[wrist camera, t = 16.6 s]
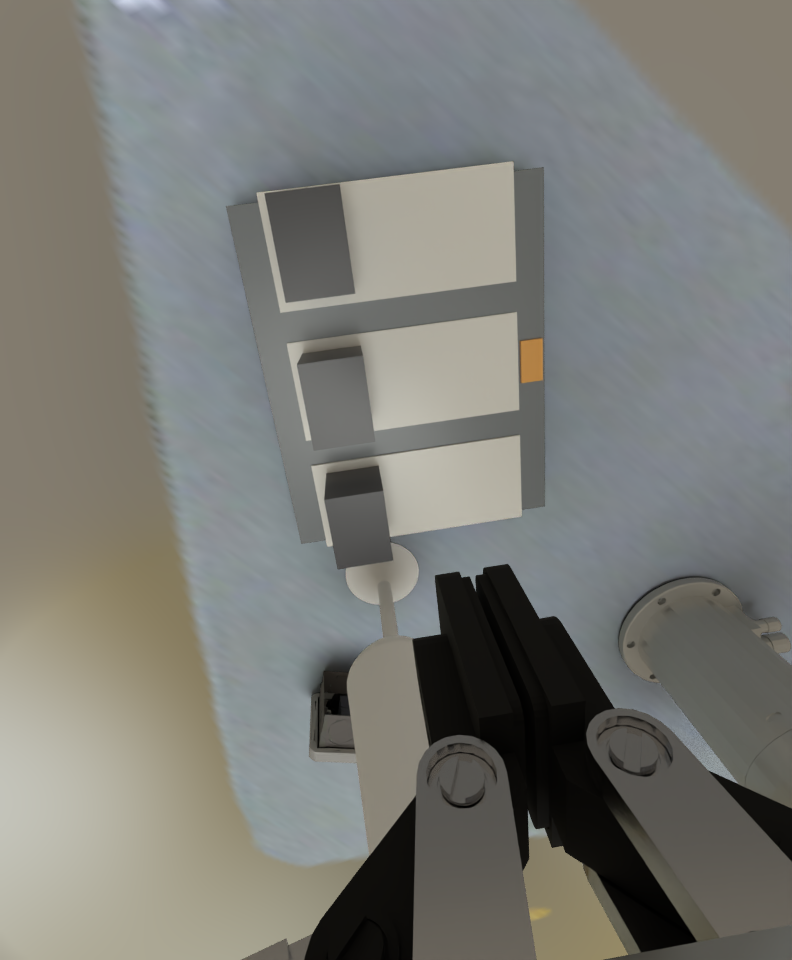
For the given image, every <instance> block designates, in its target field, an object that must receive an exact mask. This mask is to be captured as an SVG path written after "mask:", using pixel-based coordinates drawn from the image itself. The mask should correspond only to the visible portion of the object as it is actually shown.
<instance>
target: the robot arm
mask: <svg viewBox="0 0 792 960" xmlns="http://www.w3.org/2000/svg"><path fill="white" fill-rule="evenodd" d="M435 583H436V593H437V602H438V611H439V621H440V630H441V635H434V636H428V637H422V638H415V639H412V642H413V650H414V658H415V665H416V672H417V679H418V685H419V692H420V698H421V704H422V710H423V715H424V721H425V727H426V732H427V738H428V744H429V748H428V749H427V750H426V751H425V752H424V754H423V756H422V758H421V760H420V761H419V765H418V770H417V778H416V796H415V797H414V798H413V800H412V801H411V802H410V804H409V805H408V806H407V807H406V809H405V810H404V811H403V813H402V814H401V815H400V817H399V818H398V819H397V821H396V822H395V823H394V824H393V826H392V827H391V828H390V830H389V831H388V832H387V834H386V835H385V836H384V838H383V839H382V840H381V841H380V843H379V844H378V845H377V847H376V848H375V849H374V851H373V852H372V853H371V855H370V856H369V857H368V858H367V860H366V861H365V863H364V864H363V865H362V866H361V868H360V869H359V870H358V872H357V873H356V874H355V875H354V877H353V878H352V880H351V881H350V882H349V883H348V885H347V886H346V887H345V889H344V890H343V891H342V892H341V894H340V895H339V896H338V898H337V899H336V900H335V902H334V903H333V904H332V906H331V907H330V908H329V909H328V911H327V912H326V913H325V915H324V916H323V917H322V919H321V920H320V922H319V924H318V926H317V927H316V929H315V930H314V932H313V934H312V935H309V936H307V937H305V938H303V939H301V940H299V941H297V942H295V943H292V944H290V945H288V942H287V939H284V940H282V941H280V942H278V943H276V944H274V945H271V946H269V947H267V948H265V949H263V950H261V951H259V952H257V953H255V954H252V955H250V956H248V957H246V958H244V959H242V960H537V959H536V953H535V946H534V940H533V934H532V927H531V921H530V915H529V908H528V902H527V897H526V889H525V884H524V877H523V869H524V868H525V866H526V864H527V862H528V860H529V837H528V811H529V814H530V817H531V820H532V822H533V825H534V827H535V828H536V829H540V828H545V830H546V833H547V836H548V838H549V841H550V844H551V847H552V848H553V847H559V846H563V847H564V850H565V852H566V853H568V854H569V855H570V856H572V857H574V858H575V859H577V860H578V861H580V862H582V863H583V869H584V871H585V874H586V876H587V879H588V881H589V883H590V885H591V887H592V889H593V890H594V892H595V894H596V896H597V898H598V900H599V902H600V903H601V905H602V907H603V909H604V911H605V913H606V914H607V916H608V918H609V920H610V922H611V923H612V925H613V927H614V929H615V931H616V933H617V935H618V936H619V938H620V940H621V942H622V944H623V945H624V947H625V949H626V951H627V953H628V955H626V956H621V957H616V958H610V959H605V960H792V665H790V664H789V663H788V662H787V661H786V660H785V659H784V658H782V657H781V656H780V655H779V653H785V652H788V651H790V649H791V644H790V641H789V639H788V638H787V637H786V635H785V634H783V633H781V632H777V633H771V634H765V635H761V633H764V632H765V633H769V632H775V631H780V630H781V623H780V621H779V620H778V619H777V618H776V617H769V618H763V619H759V620H755V621H754V620H753V619H750V618H749V617H748V616H747V615H745V614H744V613H743V609H742V605H741V603H740V601H739V599H738V598H737V596H736V595H735V594H734V593H733V592H732V591H731V590H729V589H728V588H727V587H725V586H724V585H723V584H721V583H719V582H717V581H714V580H711V579H706V578H686V579H679V580H676V581H673V582H670V583H667V584H665V585H663V586H661V587H659V588H657V589H655V590H653V591H652V592H650V593H649V594H648V595H646V596H645V597H644V598H643V599H641V600H640V601H639V602H638V603H637V604H636V605H635V606H634V608H633V609H632V610H631V611H630V613H629V614H628V616H627V617H626V619H625V621H624V623H623V625H622V628H621V631H620V636H619V650H620V653H621V656H622V658H623V660H624V661H625V663H626V664H627V666H628V667H629V668H630V670H631V671H632V672H633V673H634V674H636V675H637V676H639V677H640V678H642V679H644V680H647V681H650V682H656V683H661V685H662V686H663V687H664V688H665V690H666V691H667V692H668V694H669V695H670V696H671V697H672V699H673V700H674V701H675V703H676V704H677V705H678V706H679V708H680V709H681V710H682V712H683V713H684V714H685V715H686V717H687V718H688V719H689V721H690V722H691V723H692V724H693V726H694V727H695V728H696V730H697V731H698V732H699V733H700V735H701V736H702V737H703V739H704V740H705V741H706V742H707V744H708V745H709V746H710V748H711V749H712V750H713V751H714V753H715V754H716V755H717V757H718V758H719V759H720V761H721V762H722V763H723V764H724V766H725V767H726V768H727V770H728V771H729V772H730V773H731V775H732V776H733V777H734V779H735V780H736V781H737V782H738V784H737V783H735V782H732V781H730V780H728V779H726V778H724V777H721V776H719V775H717V774H715V773H713V772H710V771H708V770H707V769H706V768H705V767H704V766H703V765H702V763H701V762H700V761H699V760H698V759H697V758H696V757H695V756H694V755H693V754H692V753H691V751H690V750H689V749H688V748H687V747H686V746H685V745H684V744H683V743H682V742H681V741H680V739H679V738H678V737H677V736H676V735H675V734H674V733H673V732H672V731H671V730H670V729H669V728H668V727H666V726H665V725H664V724H663V723H662V722H661V721H659V720H657V719H655V718H653V717H652V716H650V715H648V714H646V713H642V712H639V711H636V710H633V709H622V708H617V709H615V708H614V707H613V705H612V704H611V702H610V700H609V699H608V697H607V696H606V694H605V692H604V691H603V689H602V687H601V686H600V684H599V683H598V681H597V679H596V678H595V676H594V675H593V673H592V671H591V670H590V668H589V667H588V665H587V663H586V662H585V660H584V658H583V657H582V655H581V654H580V652H579V650H578V649H577V647H576V646H575V644H574V642H573V641H572V639H571V638H570V636H569V634H568V633H567V631H566V630H565V628H564V626H563V625H562V623H561V622H560V620H559V619H558V618H557V617H555V616H553V617H547V618H541V619H539V617H538V615H537V613H536V612H535V610H534V608H533V606H532V605H531V603H530V601H529V599H528V598H527V596H526V594H525V592H524V590H523V589H522V587H521V585H520V583H519V582H518V580H517V578H516V576H515V575H514V573H513V571H512V569H511V567H510V566H509V565H508V564H505V565H498V566H492V567H485V568H484V569H483V574H482V575H476V591H475V589H474V586H473V584H472V581H471V579H470V577H463V578H462V577H461V575H460V573H459V572H453V573H447V574H440V575H435Z"/></svg>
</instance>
